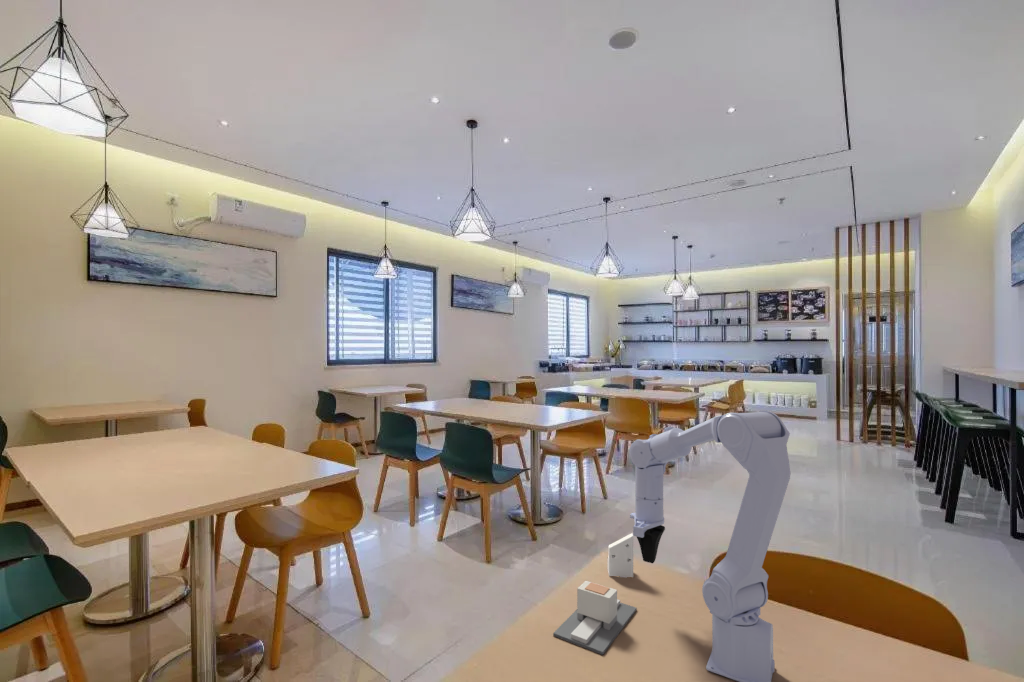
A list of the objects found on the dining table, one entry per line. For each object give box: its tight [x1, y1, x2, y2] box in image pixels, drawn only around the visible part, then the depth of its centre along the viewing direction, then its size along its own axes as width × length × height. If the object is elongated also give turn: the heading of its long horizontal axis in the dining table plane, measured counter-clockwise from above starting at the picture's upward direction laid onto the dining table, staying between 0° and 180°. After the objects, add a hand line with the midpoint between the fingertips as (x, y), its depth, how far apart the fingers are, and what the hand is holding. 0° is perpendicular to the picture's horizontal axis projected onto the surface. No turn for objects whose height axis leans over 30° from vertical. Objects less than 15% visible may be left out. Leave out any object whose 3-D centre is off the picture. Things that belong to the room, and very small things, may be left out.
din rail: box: [552, 598, 638, 656], centre depth 93 cm, size 10×18×1 cm, turn 146°
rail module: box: [576, 580, 618, 630], centre depth 93 cm, size 7×4×6 cm, turn 56°
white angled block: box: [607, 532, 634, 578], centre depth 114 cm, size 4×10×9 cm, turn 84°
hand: (649, 561), depth 98 cm, fingers closed
